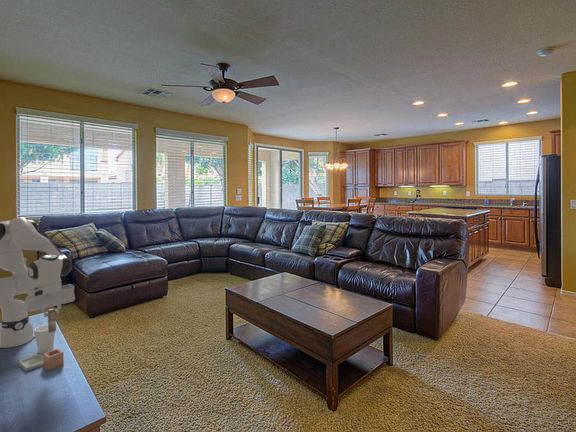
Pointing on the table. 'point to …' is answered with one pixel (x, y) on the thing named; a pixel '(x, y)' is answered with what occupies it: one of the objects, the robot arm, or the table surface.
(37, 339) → the foam cup
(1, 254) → the robot arm
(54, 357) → the brown hollow block
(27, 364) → the tray
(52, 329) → the dowel
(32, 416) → the table surface
